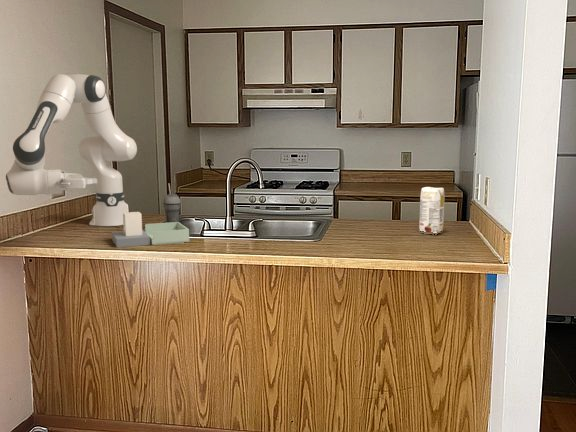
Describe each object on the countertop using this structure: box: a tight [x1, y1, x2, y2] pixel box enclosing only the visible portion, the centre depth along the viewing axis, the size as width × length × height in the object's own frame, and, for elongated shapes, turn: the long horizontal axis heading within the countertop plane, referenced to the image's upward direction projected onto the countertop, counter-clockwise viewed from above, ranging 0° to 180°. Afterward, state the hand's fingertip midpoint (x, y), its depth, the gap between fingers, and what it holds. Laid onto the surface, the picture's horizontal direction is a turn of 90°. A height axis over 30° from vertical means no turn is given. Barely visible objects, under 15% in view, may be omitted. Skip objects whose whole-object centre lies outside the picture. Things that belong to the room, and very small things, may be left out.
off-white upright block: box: [122, 211, 143, 236], centre depth 224 cm, size 6×6×8 cm
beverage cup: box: [162, 183, 182, 223], centre depth 247 cm, size 7×7×20 cm
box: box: [144, 221, 190, 246], centre depth 229 cm, size 18×14×5 cm
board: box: [111, 229, 151, 248], centre depth 224 cm, size 16×12×3 cm
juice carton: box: [418, 186, 445, 233], centre depth 240 cm, size 8×9×19 cm
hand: (96, 180), depth 216 cm, fingers closed
